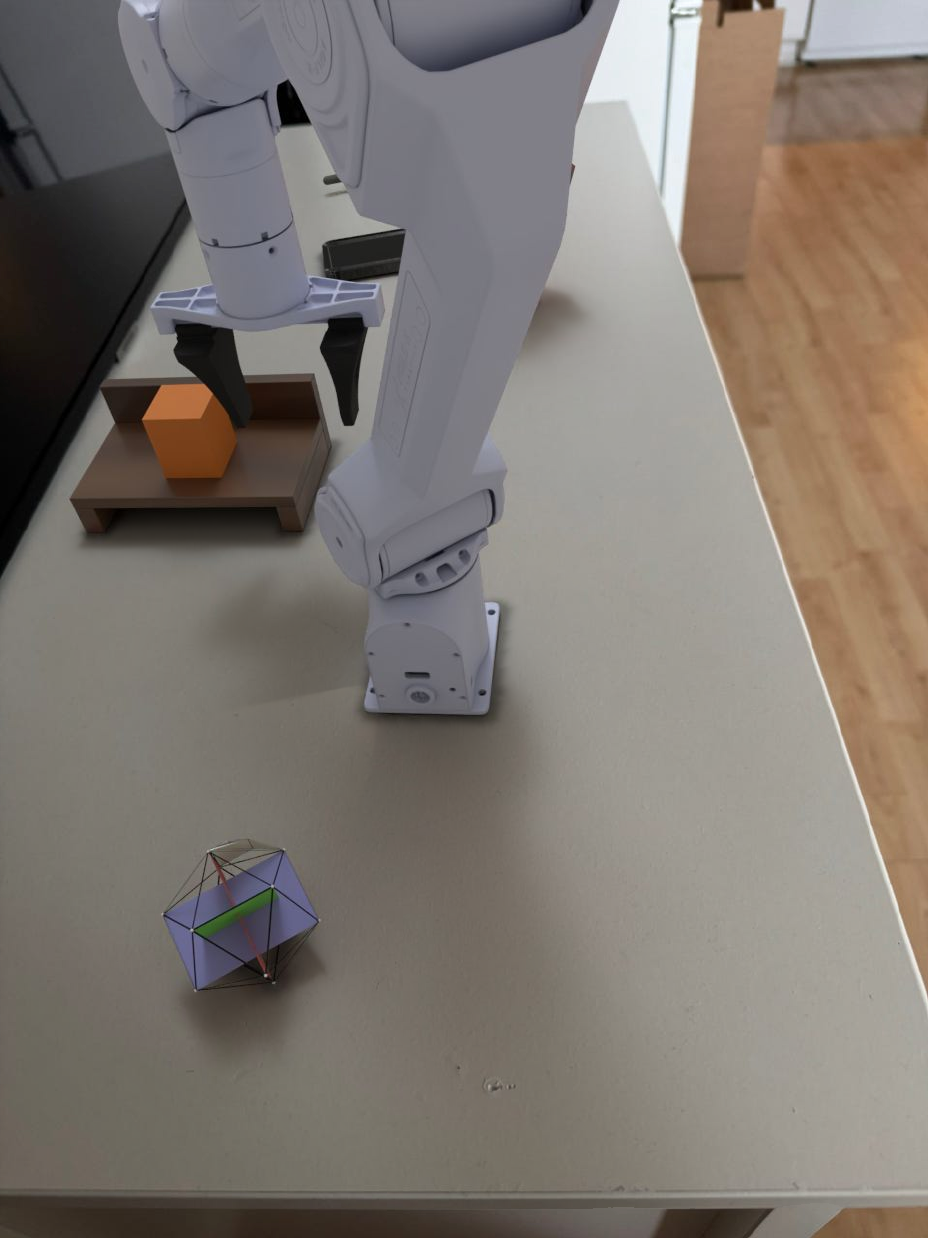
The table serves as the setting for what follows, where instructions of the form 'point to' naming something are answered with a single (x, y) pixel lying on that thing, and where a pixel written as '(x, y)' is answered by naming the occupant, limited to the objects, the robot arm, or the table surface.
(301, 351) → the table surface
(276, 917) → the geometric puzzle
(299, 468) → the shelf
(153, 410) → the orange cube-like block
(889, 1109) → the table surface
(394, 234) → the phone
